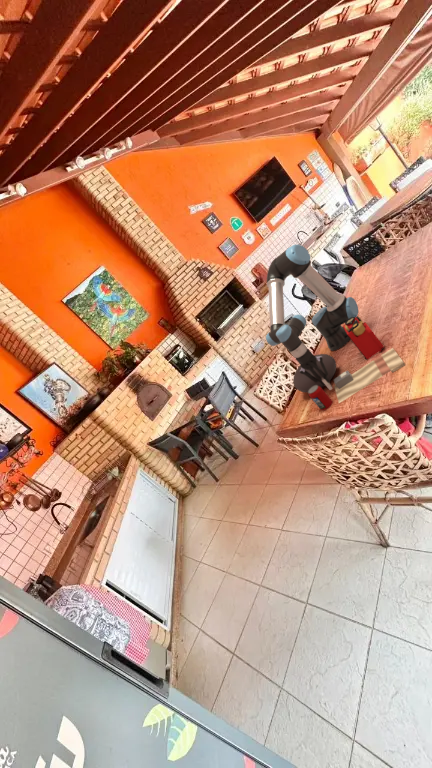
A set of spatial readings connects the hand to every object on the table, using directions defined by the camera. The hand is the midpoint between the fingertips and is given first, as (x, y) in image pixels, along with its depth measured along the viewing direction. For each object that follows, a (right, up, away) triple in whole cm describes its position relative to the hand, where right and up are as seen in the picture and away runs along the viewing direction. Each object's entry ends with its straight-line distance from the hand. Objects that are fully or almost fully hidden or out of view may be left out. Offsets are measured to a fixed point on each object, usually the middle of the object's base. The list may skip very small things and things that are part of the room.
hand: (330, 388), depth 188 cm
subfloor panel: (+14, +5, -11) cm, 18 cm away
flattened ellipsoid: (+1, +2, +17) cm, 17 cm away
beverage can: (-3, -9, -6) cm, 11 cm away
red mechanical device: (+23, +19, +4) cm, 30 cm away
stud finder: (+6, +3, -3) cm, 7 cm away
